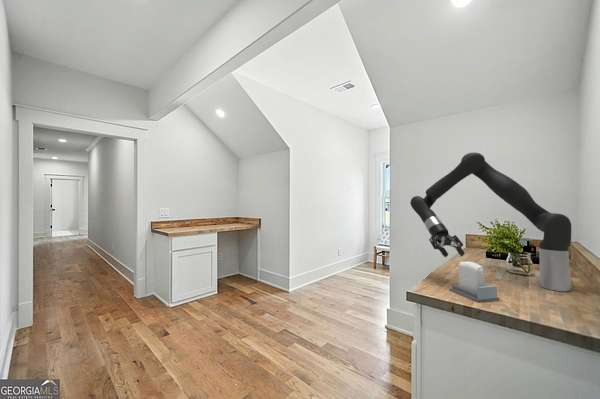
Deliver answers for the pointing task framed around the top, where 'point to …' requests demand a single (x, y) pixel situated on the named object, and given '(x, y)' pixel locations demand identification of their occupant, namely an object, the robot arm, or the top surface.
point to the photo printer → (471, 276)
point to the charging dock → (482, 293)
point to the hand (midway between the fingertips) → (454, 255)
